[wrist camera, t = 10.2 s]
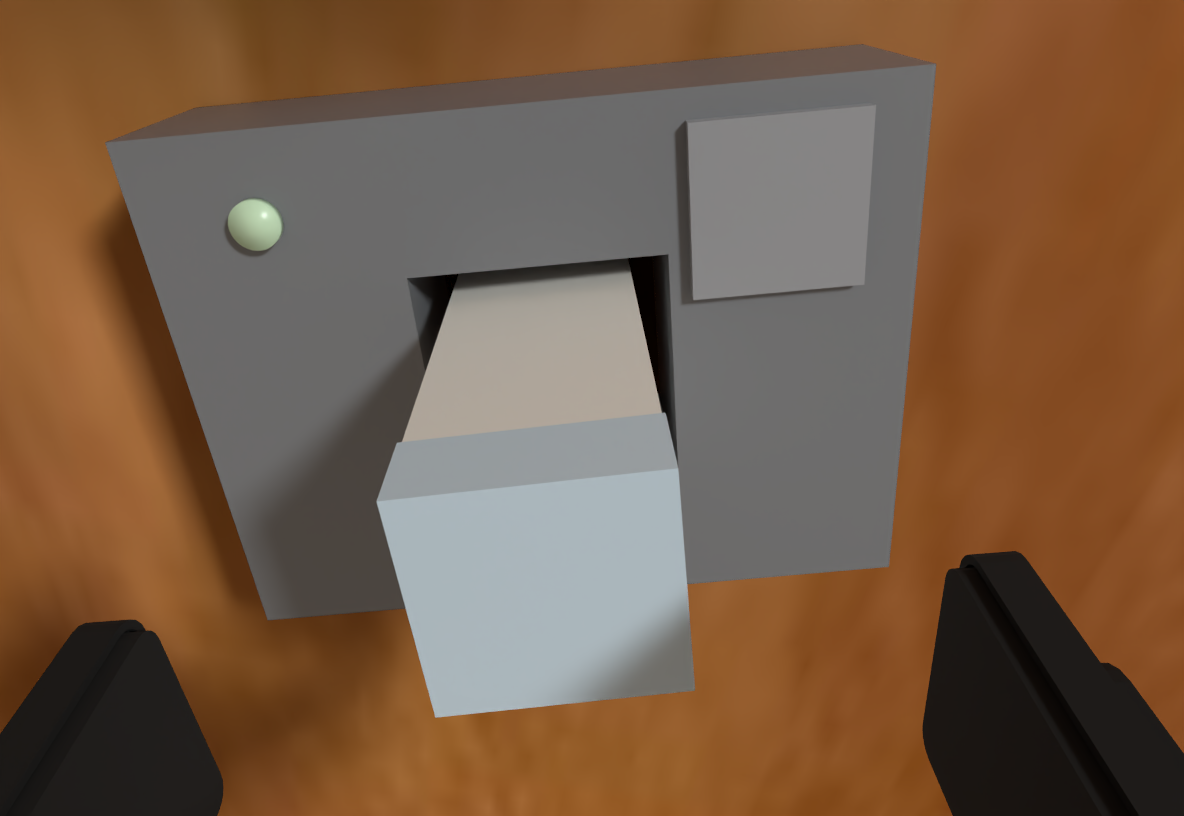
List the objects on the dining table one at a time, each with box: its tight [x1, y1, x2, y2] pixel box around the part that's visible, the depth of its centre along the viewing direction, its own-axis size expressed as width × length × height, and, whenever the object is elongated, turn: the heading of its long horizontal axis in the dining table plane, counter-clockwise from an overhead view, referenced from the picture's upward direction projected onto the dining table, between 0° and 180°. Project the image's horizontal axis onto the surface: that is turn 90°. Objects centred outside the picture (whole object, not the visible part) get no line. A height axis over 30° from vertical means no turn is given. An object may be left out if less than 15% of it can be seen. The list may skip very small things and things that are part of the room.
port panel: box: [105, 44, 936, 620], centre depth 21 cm, size 16×12×5 cm
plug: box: [376, 258, 695, 717], centre depth 18 cm, size 4×4×12 cm
